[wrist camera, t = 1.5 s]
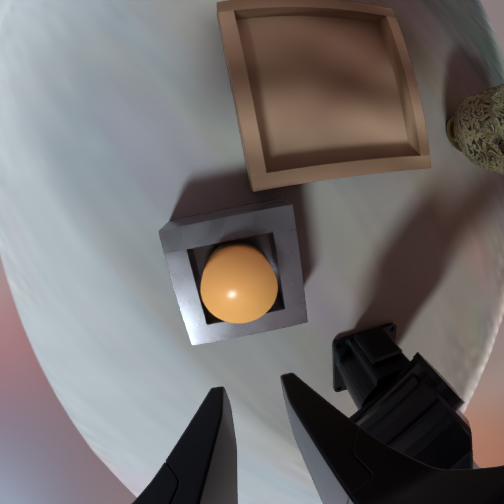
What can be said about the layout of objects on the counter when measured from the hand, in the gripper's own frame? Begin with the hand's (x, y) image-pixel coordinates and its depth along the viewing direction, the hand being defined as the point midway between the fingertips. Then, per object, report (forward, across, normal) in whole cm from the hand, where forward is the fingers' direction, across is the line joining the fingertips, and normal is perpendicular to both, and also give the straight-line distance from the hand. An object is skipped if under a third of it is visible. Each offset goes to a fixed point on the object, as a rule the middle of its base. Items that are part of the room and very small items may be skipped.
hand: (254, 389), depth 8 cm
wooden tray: (+13, -9, -12) cm, 20 cm away
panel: (+13, 0, 0) cm, 13 cm away
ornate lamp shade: (+13, -22, -8) cm, 27 cm away
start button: (+11, 0, 0) cm, 11 cm away
